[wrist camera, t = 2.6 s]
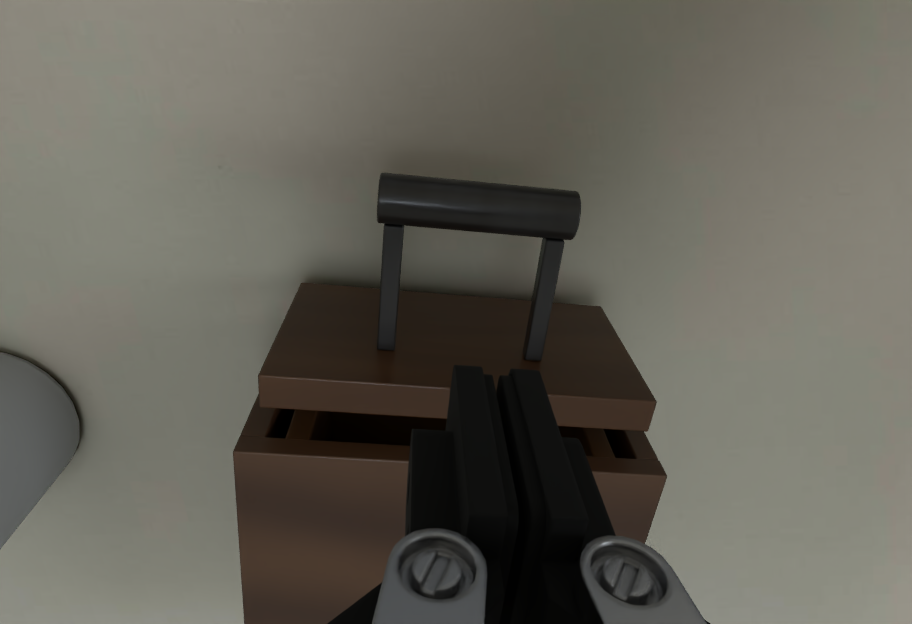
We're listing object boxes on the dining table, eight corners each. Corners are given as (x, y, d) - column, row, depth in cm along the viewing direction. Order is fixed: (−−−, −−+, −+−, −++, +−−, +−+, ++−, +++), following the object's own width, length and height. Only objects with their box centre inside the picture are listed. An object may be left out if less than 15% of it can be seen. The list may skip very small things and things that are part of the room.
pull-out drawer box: (300, 133, 22) (249, 182, 16) (634, 166, 23) (711, 224, 17) (302, 544, 31) (270, 680, 25) (542, 555, 32) (571, 688, 26)
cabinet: (291, 319, 26) (232, 451, 18) (598, 342, 27) (668, 476, 20) (294, 575, 33) (252, 752, 25) (540, 584, 34) (574, 756, 26)
